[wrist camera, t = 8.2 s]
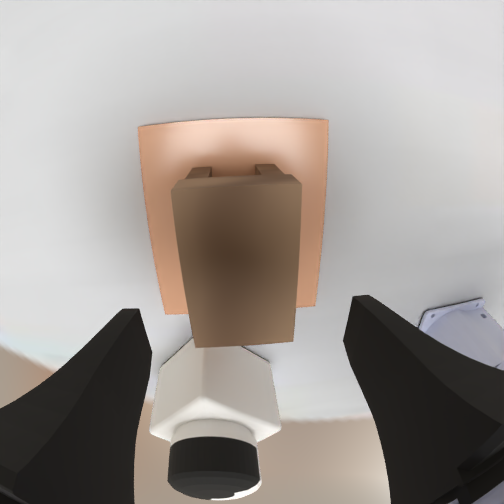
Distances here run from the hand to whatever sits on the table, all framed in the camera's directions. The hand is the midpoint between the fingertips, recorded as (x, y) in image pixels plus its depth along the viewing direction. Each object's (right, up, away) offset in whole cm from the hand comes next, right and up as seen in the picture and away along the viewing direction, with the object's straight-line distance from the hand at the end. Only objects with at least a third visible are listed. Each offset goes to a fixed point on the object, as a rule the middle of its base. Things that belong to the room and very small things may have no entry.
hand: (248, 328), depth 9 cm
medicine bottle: (-3, -7, +15) cm, 17 cm away
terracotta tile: (-1, +4, +9) cm, 10 cm away
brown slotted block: (-1, +4, +8) cm, 9 cm away
